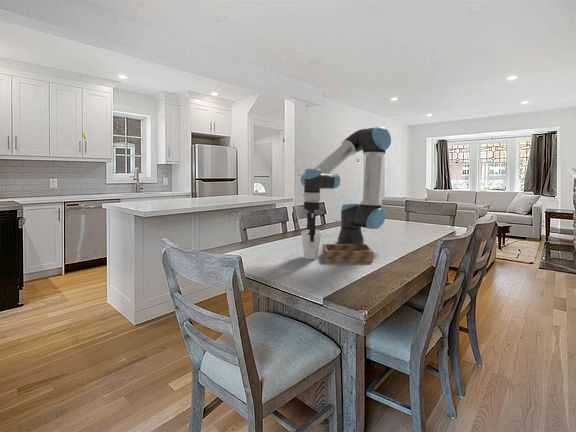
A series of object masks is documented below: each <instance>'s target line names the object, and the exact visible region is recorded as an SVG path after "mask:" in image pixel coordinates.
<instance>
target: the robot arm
mask: <svg viewBox="0 0 576 432" xmlns="http://www.w3.org/2000/svg"><path fill="white" fill-rule="evenodd" d="M391 143H392V138H391V133H390V132H389V130H388V129H387V128H385V127H384V126H379V127H378V126H376V127H370V128H362V129H359V130H356V131H354V132H353V133H351V134H350V135H349V136H347V137H346V138H345V139H344V140H343V141H342V142H341V145H340V146H339V147H338V148H336V149H335V150H334V151H333V152H332V153H330V154H329V155H328V156H327V157H326V158H324V160H322V161H321V162H320V163H319V164H318V165H317V166H315V167H314V168H306V169H305V170H304V173H303V174H302V175H301V177H300V183H301V185H302V186H303V192H304V194H302V197H303V201H304V202H303V210H305V211H307V213H306V222H307V223H306V230H309V233H308V235H309V248H310V249H315V233H316V232H315V230H316V218H317V217H316V216H317V214H316V213H315V211H319V210H320V204H321V203H320V200H321V190H322V189H325V190H327V189H329V190H333V189H338V188H339V187H340V185H341V177H340V175H338V173H333V171H335V169H337V168H338V167H339V166H340V165H341V164H343V162H344V161H346V160H347V159H348V158H349V157H350V156H354V155H355V154H356V153H359V152H361V151H362V153H363V155H364V156H365V164H364V176H363V177H364V178H363V194H362V200H361V202H360V203H345V204H342V206H341V209H340V211H341V212H340V231H339V234H338V236H337V244H365V241H364V236H363V232H362V228H364V229H365V228H366V229H368V230H378V229H380V228H381V227H382V226H383V224H384V222H385V221H386V212H385V209H383V208H382V203H381V202H380V192H381V177H382V162H383V156H384V155H386V150H388V149H389V148H390V146H391Z"/></svg>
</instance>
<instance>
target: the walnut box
mask: <svg viewBox="0 0 576 432" xmlns="http://www.w3.org/2000/svg"><path fill="white" fill-rule="evenodd" d="M321 252H322V253H321V254H322V256H323V258H324V261H325V262H327V263H328V262H329V263H330V262H332V263H333V262H335V263H336V262H337V263H338V262H339V263H341V262H350V263H351V262H353V263H356V262H358V263H359V262H360V263H363V262H364V263H365V262H366V263H367V262H369V263H370V262H371V263H372V262H374V250H373V249H372V248H370V246H368V245H367V244H366V243H363V244H340V243H322V251H321Z"/></svg>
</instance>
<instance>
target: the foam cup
mask: <svg viewBox="0 0 576 432" xmlns="http://www.w3.org/2000/svg"><path fill="white" fill-rule="evenodd" d="M315 232H316V233H315V249H310V248H309V235H308V233H309V230H307V229H304V230H301V240H302V249H303V258H304V259H306V260H317V259H318V257H319V256H318V255H319V249H320V241H321V237H322V231H321V230H319V229H315Z"/></svg>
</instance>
